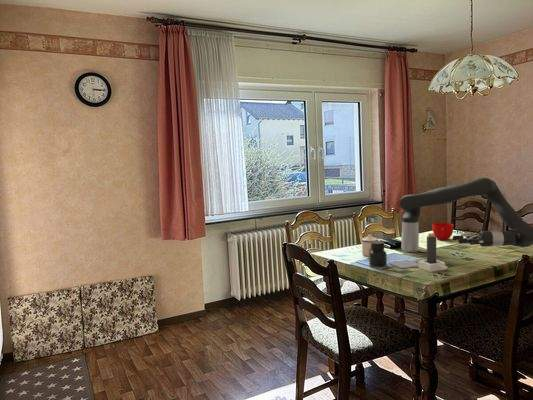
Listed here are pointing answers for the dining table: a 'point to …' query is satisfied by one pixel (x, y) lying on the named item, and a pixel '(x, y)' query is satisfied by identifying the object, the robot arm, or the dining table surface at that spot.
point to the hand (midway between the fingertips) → (455, 239)
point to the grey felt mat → (404, 264)
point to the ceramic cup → (442, 230)
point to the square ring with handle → (431, 265)
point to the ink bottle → (377, 254)
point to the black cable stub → (431, 248)
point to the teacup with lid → (367, 244)
